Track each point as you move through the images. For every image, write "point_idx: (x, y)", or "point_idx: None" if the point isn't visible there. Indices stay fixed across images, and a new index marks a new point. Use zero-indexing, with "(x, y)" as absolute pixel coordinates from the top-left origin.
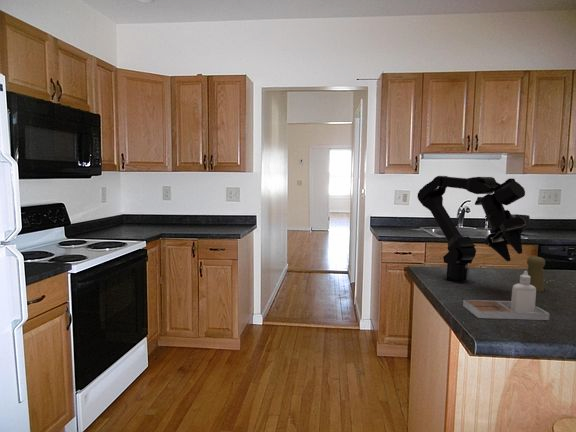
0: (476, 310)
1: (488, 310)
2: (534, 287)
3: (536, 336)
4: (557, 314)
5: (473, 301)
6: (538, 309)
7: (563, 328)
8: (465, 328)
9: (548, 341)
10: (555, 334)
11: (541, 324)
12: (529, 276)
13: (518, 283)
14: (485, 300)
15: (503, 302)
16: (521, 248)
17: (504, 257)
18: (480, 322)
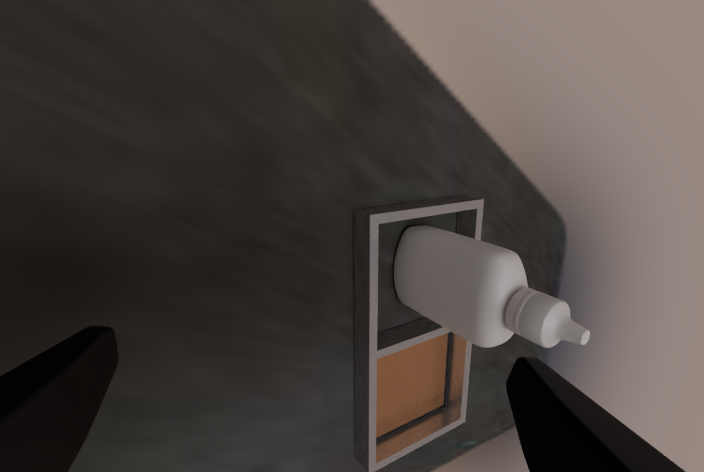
0: (453, 426)
1: (401, 377)
2: (521, 263)
3: (538, 287)
4: (418, 121)
5: (374, 438)
6: (440, 213)
7: (511, 186)
8: (497, 435)
9: (556, 270)
10: (534, 234)
11: (487, 239)
12: (568, 309)
13: (500, 331)
14: (369, 398)
15: (374, 327)
16: (582, 400)
17: (88, 431)
18: (471, 403)
